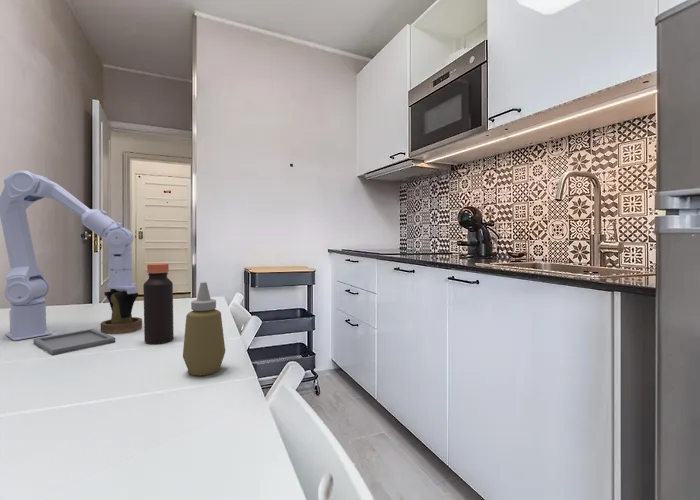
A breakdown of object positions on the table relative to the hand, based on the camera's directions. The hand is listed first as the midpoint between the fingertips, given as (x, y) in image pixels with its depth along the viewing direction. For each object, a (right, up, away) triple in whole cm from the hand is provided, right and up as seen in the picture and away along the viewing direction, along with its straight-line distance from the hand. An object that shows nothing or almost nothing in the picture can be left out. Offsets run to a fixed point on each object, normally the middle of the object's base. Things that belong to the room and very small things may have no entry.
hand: (121, 316), depth 108 cm
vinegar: (+17, -5, -11) cm, 20 cm away
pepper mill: (0, -4, 0) cm, 4 cm away
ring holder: (0, -4, 0) cm, 4 cm away
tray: (-4, -4, -13) cm, 14 cm away
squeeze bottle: (+37, -6, -32) cm, 49 cm away
